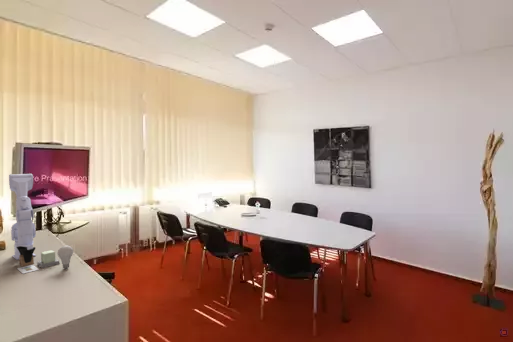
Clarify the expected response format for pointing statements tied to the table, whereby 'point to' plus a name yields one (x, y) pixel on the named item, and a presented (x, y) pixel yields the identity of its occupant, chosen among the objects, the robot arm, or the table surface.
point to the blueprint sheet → (27, 269)
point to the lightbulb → (65, 255)
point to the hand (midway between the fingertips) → (26, 261)
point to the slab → (48, 263)
